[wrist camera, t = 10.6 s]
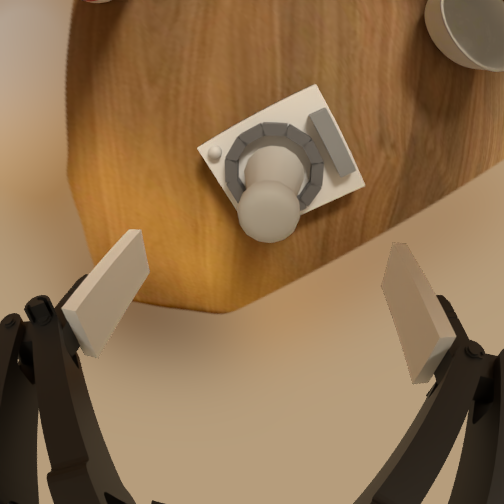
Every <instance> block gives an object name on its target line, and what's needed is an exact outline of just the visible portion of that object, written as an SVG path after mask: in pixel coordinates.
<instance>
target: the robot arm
mask: <svg viewBox="0 0 504 504" xmlns="http://www.w3.org/2000/svg"><path fill="white" fill-rule="evenodd" d="M149 273H150V271H149V266H148V261H147V257H146V252H145V247H144V242H143V236H142V231H141V230H135V229H129V230H128V231H127V232H126V233H125V234H124V235H123V236H122V237H121V239H120V240H119V241H118V242H117V243H116V244H115V245H114V246H113V247H112V248H111V250H110V251H109V252H108V253H107V254H106V255H105V256H104V257H103V259H102V260H101V261H100V262H99V263H98V264H97V265H96V267H95V268H94V269H93V270H92V271H91V272H90V274H86V275H84V276H83V277H81V278H80V279H78V280H77V281H76V283H75V284H74V285H73V286H72V288H71V289H70V290H69V291H68V293H67V294H66V295H65V296H64V297H63V298H62V299H61V301H60V302H59V303H58V305H57V306H56V307H55V308H54V307H53V305H52V303H51V301H50V298H49V297H48V296H46V295H41V296H36V297H34V298H32V299H31V300H30V301H29V302H28V303H27V304H26V306H25V308H24V310H25V312H26V314H27V316H28V318H29V320H30V321H28V322H23V321H22V319H21V317H20V315H19V314H17V313H13V314H9V315H7V316H6V317H5V318H4V319H3V320H2V321H1V323H0V504H39V496H38V480H37V426H38V425H37V424H38V410H39V412H40V418H41V424H42V429H43V434H44V439H45V443H46V447H47V451H48V456H49V460H50V463H51V468H52V469H51V472H49V473H48V474H47V482H48V486H49V489H50V493H51V496H52V499H53V502H54V504H136V503H135V501H134V500H133V498H132V496H131V495H130V494H129V492H128V491H127V490H126V489H125V487H124V486H123V484H122V482H121V480H120V478H119V476H118V473H117V471H116V469H115V466H114V464H113V462H112V460H111V457H110V454H109V452H108V449H107V447H106V444H105V442H104V439H103V436H102V433H101V431H100V428H99V425H98V422H97V419H96V416H95V413H94V410H93V407H92V403H91V400H90V397H89V393H88V390H87V386H86V383H85V379H84V375H83V372H82V367H81V363H80V359H79V356H78V354H77V352H76V351H77V350H78V348H79V347H81V349H82V351H83V353H84V354H85V355H87V356H91V357H95V358H99V356H100V354H101V352H102V351H103V349H104V347H105V345H106V344H107V342H108V340H109V338H110V337H111V335H112V333H113V332H114V330H115V328H116V326H117V325H118V323H119V321H120V319H121V318H122V316H123V314H124V313H125V311H126V310H127V308H128V306H129V305H130V303H131V301H132V300H133V298H134V297H135V295H136V293H137V292H138V290H139V289H140V287H141V285H142V284H143V282H144V281H145V279H146V277H147V276H148V274H149ZM381 287H382V289H383V292H384V295H385V298H386V301H387V303H388V306H389V309H390V312H391V315H392V318H393V321H394V324H395V327H396V330H397V333H398V336H399V339H400V342H401V345H402V349H403V352H404V355H405V359H406V362H407V366H408V369H409V373H410V376H411V380H412V384H418V383H428V382H429V380H430V379H431V377H432V376H433V374H434V375H435V378H436V382H435V384H434V385H433V387H432V388H431V389H430V391H429V392H428V394H427V395H426V396H427V398H426V400H425V402H424V404H423V406H422V408H421V409H420V411H419V413H418V414H417V416H416V418H415V420H414V421H413V423H412V424H411V426H410V428H409V429H408V431H407V433H406V434H405V436H404V437H403V439H402V440H401V442H400V443H399V445H398V446H397V448H396V449H395V451H394V452H393V453H392V455H391V456H390V458H389V459H388V461H387V462H386V463H385V465H384V466H383V468H382V469H381V470H380V471H379V473H378V474H377V475H376V477H375V478H374V479H373V480H372V482H371V483H370V484H369V485H368V487H367V488H366V489H365V490H364V492H363V493H362V494H361V495H360V497H359V498H358V499H357V500H356V501H355V502H354V503H353V504H421V502H422V501H423V499H424V497H425V496H426V494H427V493H428V491H429V489H430V488H431V486H432V484H433V483H434V481H435V479H436V477H437V475H438V474H439V472H440V470H441V468H442V466H443V465H444V463H445V461H446V459H447V457H448V455H449V453H450V451H451V449H452V447H453V444H454V442H455V440H456V438H457V436H458V434H459V431H460V429H461V427H462V424H463V422H464V420H465V417H466V415H467V412H468V410H469V413H468V420H467V426H466V433H465V438H464V443H463V448H462V453H461V458H460V462H459V466H458V471H457V474H456V478H455V482H454V486H453V489H452V493H451V496H450V499H449V502H448V504H504V349H503V350H502V351H501V352H500V354H499V355H498V356H495V355H490V354H485V351H484V349H483V348H482V347H481V345H479V344H478V343H477V342H475V341H472V340H469V339H468V336H467V334H466V332H465V330H464V328H463V327H462V324H461V323H460V321H459V319H458V318H457V315H456V313H455V312H454V309H453V307H452V306H451V304H450V302H449V301H448V300H446V298H445V297H444V296H442V295H435V293H434V291H433V289H432V287H431V285H430V284H429V282H428V280H427V278H426V277H425V275H424V273H423V271H422V270H421V268H420V266H419V265H418V263H417V261H416V259H415V258H414V256H413V255H412V253H411V251H410V249H409V248H408V246H407V245H406V244H405V243H392V247H391V252H390V256H389V259H388V263H387V267H386V271H385V274H384V278H383V282H382V285H381ZM18 359H19V362H18ZM151 504H164V503H160V502H156V501H152V503H151Z"/></svg>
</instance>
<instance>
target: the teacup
mask: <svg viewBox="0 0 504 504" xmlns="http://www.w3.org/2000/svg"><path fill="white" fill-rule="evenodd" d="M424 16H425V24H426V27H427V30H428V32H429V35H430V37H431V39H432V40H433V42H434V43H435V45H436V46H437V47H438V49H439V50H440V51H441V52H442V53H443V54H444V55H445V56H447V57H448V58H449V59H451V60H452V61H454V62H455V63H457V64H459V65H462V66H464V67H467V68H472V69H480V70H488V71H493V72H503V71H504V2H503V1H502V0H428V1H427V4H426V7H425V14H424Z"/></svg>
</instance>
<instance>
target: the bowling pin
mask: <svg viewBox="0 0 504 504" xmlns="http://www.w3.org/2000/svg"><path fill="white" fill-rule="evenodd" d="M244 174H245V182H246V190H245V191H244V192H243V194H242V196H241V199H240V201H239V204H238V207H237V212H238V218H239V224H240V226H241V227H242V228H243V230H244V231H245V233H246V234H247V235H248V236H250V237H252V238H253V239H255V240H257V241H260V242H267V243H274V242H277V241H281V240H284V239H285V238H287V237H288V236H289V235H290V234H292V233H293V232H294V230H295V228H296V226H297V223H298V221H299V218H300V205H299V200H298V199H297V195H298V193H299V190H300V188H301V185H302V183H303V180H304V169H303V165H302V163H301V162H300V160H299V159H298V157H297V155H295V154H294V153H293V152H291V151H290V150H288V149H287V148H285V147H280V146H268V147H264V148H261V149H258V150H257V151H256V152H255V153H254V154H253V155H252V156H251V157H250V158H249V159H248V161H247V164H246V167H245V170H244Z"/></svg>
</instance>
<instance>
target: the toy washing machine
mask: <svg viewBox="0 0 504 504" xmlns="http://www.w3.org/2000/svg"><path fill="white" fill-rule="evenodd" d="M268 146H280V147H285V148H287V149H288V150H290V151H291V152H293V153H294V154H295V155H297V157H298V159H299V160H300V162H301V163H302V165H303V169H304V180H303V183H302V185H301V188H300V190H299V193H298V195H297V199H298V200H299V205H300V215H302V214H304V213H306V212H309V211H311V210H313V209H315V208H317V207H320V206H322V205H324V204H326V203H328V202H331V201H333V200H335V199H337V198H339V197H342V196H344V195H346V194H348V193H350V192H353V191H355V190H357V189H359V188H362V187H364V186H365V183H364V181H363V179H362V176H361V174H360V172H359V170H358V167H357V165H356V163H355V161H354V158H353V156H352V154H351V152H350V150H349V147H348V145H347V143H346V141H345V139H344V137H343V135H342V133H341V131H340V129H339V127H338V125H337V123H336V121H335V119H334V117H333V115H332V113H331V111H330V109H329V107H328V105H327V103H326V102H325V100H324V98H323V96H322V94H321V92H320V91H319V89H318V87H317V85H316V84H314V85H311V86H309V87H307V88H305V89H303V90H301V91H298V92H296V93H294V94H292V95H290V96H288V97H286V98H284V99H282V100H280V101H278V102H276V103H274V104H272V105H270V106H268V107H266V108H265V109H263V110H261V111H259V112H257V113H255V114H253V115H251V116H250V117H248V118H246V119H244V120H242V121H241V122H239V123H237V124H235V125H233V126H232V127H230V128H228V129H227V130H225V131H223V132H221V133H220V134H218V135H216V136H215V137H213V138H211V139H210V140H208V141H206V142H205V143H203V144H202V145H200V146H199V147H198V148H197V149H198V151H199V152H200V154H201V155H202V157H203V158H204V160H205V162H206V163H207V165H208V166H209V168H210V169H211V171H212V172H213V174H214V176H215V177H216V179H217V180H218V182H219V183H220V185H221V187H222V188H223V190H224V191H225V193H226V194H227V196H228V198H229V199H230V201H231V202H232V204H233V205H234V207H235V209H236V210H237V207H238V204H239V201H240V199H241V196H242V194H243V192H244V191H245V190H246V182H245V174H244V170H245V167H246V164H247V161H248V159H249V158H250V157H251V156H252V155H253V154H254V153H255V152H256V151H257V150H258V149H261V148H264V147H268Z"/></svg>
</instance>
